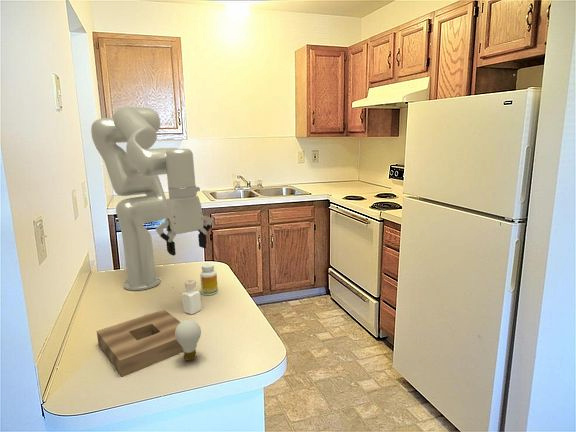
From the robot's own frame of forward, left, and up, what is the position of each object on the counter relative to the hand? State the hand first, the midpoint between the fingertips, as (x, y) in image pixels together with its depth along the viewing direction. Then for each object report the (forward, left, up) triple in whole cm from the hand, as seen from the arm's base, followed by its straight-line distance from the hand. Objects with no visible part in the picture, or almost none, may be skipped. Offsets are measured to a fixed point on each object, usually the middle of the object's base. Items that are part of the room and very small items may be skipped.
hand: (187, 250), depth 114 cm
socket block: (+10, -18, -19) cm, 28 cm away
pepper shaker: (0, 0, -19) cm, 19 cm away
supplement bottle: (-9, +11, -20) cm, 24 cm away
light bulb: (+23, -13, -19) cm, 33 cm away
